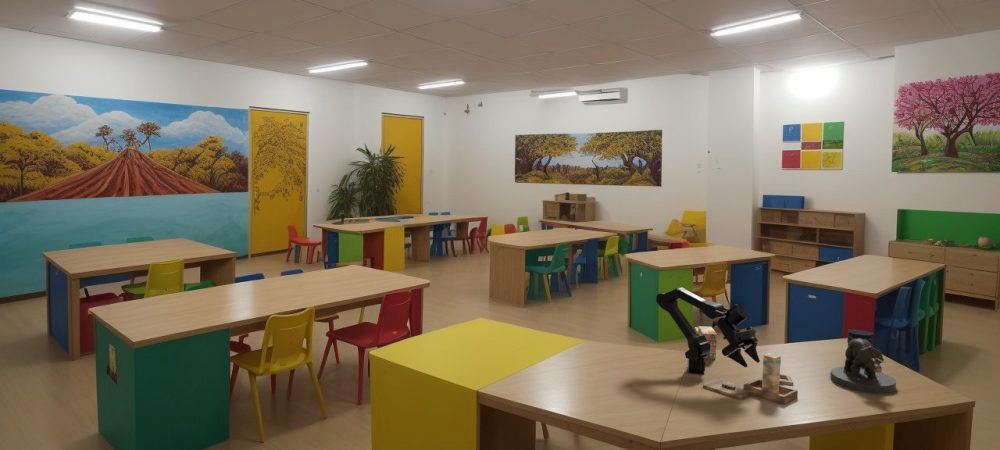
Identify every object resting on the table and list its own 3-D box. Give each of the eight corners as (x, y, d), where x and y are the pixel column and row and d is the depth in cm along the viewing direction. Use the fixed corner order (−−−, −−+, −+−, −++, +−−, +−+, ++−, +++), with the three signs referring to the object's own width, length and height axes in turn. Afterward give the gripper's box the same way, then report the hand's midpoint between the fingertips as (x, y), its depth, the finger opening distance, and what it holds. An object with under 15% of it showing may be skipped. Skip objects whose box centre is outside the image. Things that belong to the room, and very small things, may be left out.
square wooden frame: (768, 382, 245) (768, 379, 245) (765, 375, 254) (766, 372, 253) (793, 385, 242) (793, 382, 242) (789, 377, 251) (789, 374, 251)
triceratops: (845, 395, 231) (848, 350, 230) (818, 366, 266) (820, 326, 264) (912, 401, 227) (916, 354, 225) (875, 370, 261) (878, 329, 259)
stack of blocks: (693, 345, 296) (694, 321, 295) (706, 345, 295) (707, 321, 294) (701, 358, 275) (702, 332, 274) (715, 359, 274) (717, 333, 273)
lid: (702, 387, 239) (703, 382, 239) (718, 381, 246) (718, 376, 246) (739, 399, 227) (740, 394, 227) (754, 392, 234) (755, 388, 233)
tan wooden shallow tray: (743, 391, 235) (743, 384, 234) (757, 385, 241) (757, 378, 241) (783, 404, 222) (783, 397, 222) (797, 397, 229) (797, 390, 229)
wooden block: (761, 392, 232) (763, 355, 230) (767, 389, 235) (769, 352, 233) (772, 396, 228) (774, 358, 227) (778, 393, 231) (781, 356, 230)
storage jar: (862, 360, 274) (864, 328, 272) (876, 367, 264) (878, 335, 262) (841, 360, 273) (843, 328, 272) (854, 367, 264) (856, 335, 262)
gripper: (730, 324, 233) (755, 359, 226) (755, 317, 244) (779, 350, 237) (711, 338, 240) (734, 373, 233) (736, 331, 252) (759, 363, 244)
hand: (752, 364), depth 237 cm, fingers open, 9 cm apart
